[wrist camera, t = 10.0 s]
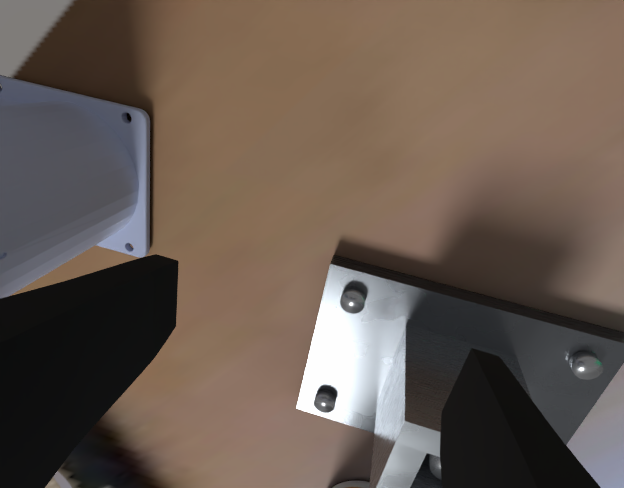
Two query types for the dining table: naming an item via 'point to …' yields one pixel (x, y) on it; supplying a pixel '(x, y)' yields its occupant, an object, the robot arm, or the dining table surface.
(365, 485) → the pill bottle
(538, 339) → the dark grey mounting plate
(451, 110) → the dining table surface
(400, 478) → the grey square socket
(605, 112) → the dining table surface
